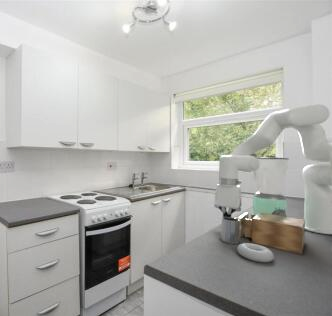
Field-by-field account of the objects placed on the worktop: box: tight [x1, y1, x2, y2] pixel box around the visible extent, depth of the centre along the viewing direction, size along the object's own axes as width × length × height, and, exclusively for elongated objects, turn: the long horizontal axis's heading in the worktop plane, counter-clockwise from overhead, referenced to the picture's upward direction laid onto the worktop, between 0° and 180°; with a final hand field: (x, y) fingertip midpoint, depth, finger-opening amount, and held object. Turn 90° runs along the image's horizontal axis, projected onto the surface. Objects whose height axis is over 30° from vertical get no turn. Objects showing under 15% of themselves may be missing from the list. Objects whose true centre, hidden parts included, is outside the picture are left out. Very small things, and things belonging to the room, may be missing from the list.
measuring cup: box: [220, 216, 240, 245], centre depth 89 cm, size 6×6×9 cm
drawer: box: [235, 212, 256, 239], centre depth 93 cm, size 18×13×8 cm
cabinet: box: [251, 213, 306, 255], centre depth 88 cm, size 15×15×10 cm
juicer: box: [252, 155, 290, 217], centre depth 108 cm, size 19×13×35 cm
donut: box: [237, 242, 275, 263], centre depth 75 cm, size 10×4×10 cm
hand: (226, 222), depth 101 cm, fingers closed
